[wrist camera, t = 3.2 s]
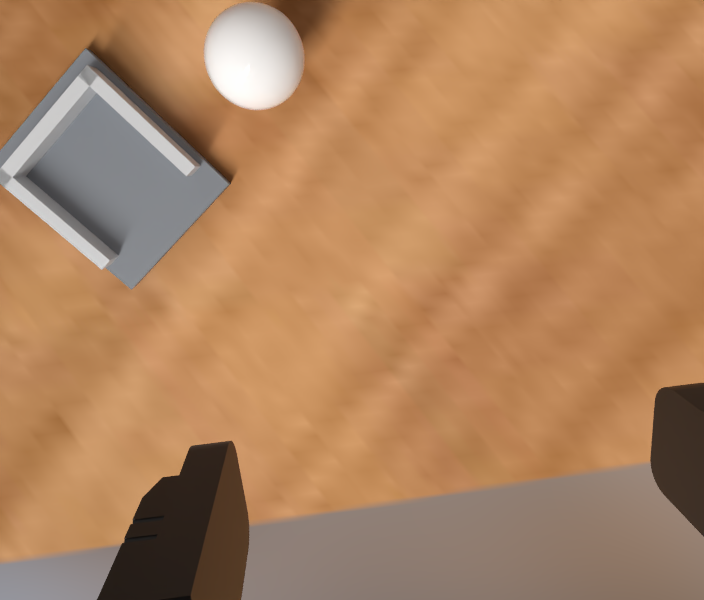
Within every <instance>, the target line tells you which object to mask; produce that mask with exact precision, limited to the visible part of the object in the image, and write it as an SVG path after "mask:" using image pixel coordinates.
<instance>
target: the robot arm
mask: <svg viewBox="0 0 704 600" xmlns="http://www.w3.org/2000/svg"><path fill="white" fill-rule="evenodd" d="M651 468H652V473H653V476H654V479H655V481H656V483H657V485H658V487H659V489H660V490H661V491H662V492H663V494H664V495H665V496H666V497H667V498H668V499H669V500H670V502H671V503H672V504H673V505H674V506H675V507H676V508H677V509H678V510H679V511H680V512H681V513H682V514H683V515H684V516H685V517H686V518H687V520H688V521H689V522H690V523H691V524H692V525H693V526H694V527H695V528H696V529H697V530H698V531H699V532H700V533H701V534H702V535H703V536H704V383H696V384H688V385H680V386H672V387H664V388H661V389H660V390H659V391H658V393H657V395H656V398H655V407H654V420H653V433H652V446H651ZM124 539H125V542H124V543H122V545H121V547H120V550H119V552H118V554H117V556H116V558H115V561H114V563H113V565H112V567H111V570H110V572H109V574H108V577H107V579H106V581H105V583H104V585H103V588H102V590H101V592H100V594H99V597H98V599H97V600H241V597H242V590H243V583H244V576H245V569H246V562H247V555H248V548H249V520H248V512H247V506H246V501H245V495H244V490H243V485H242V480H241V474H240V469H239V464H238V458H237V453H236V449H235V446H234V443H233V442H232V441H226V442H218V443H210V444H202V445H194V446H191V447H190V448H189V451H188V453H187V456H186V459H185V461H184V464H183V467H182V470H181V472H180V475H178V476H170V477H163V478H162V479H161V480H160V481H159V482H158V483H157V484H156V485H155V486H154V487H153V488H152V489H151V490H150V491H149V492H148V493H147V494H146V495H145V496H144V497H143V498H142V500H141V502H140V504H139V507H138V509H137V511H136V513H135V516H134V518H133V524H131V525H130V527H129V529H128V531H127V534H126V536H125V538H124Z"/></svg>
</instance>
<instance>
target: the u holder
mask: <svg viewBox="0 0 704 600" xmlns="http://www.w3.org/2000/svg"><path fill="white" fill-rule="evenodd" d="M0 184H1V185H2V186H3V187H5V188H6V189H7V190H8V191H9V192H10V193H12V194H13V195H14V196H15V197H16V198H18V199H19V200H20V201H21V202H22V203H23V204H25V205H26V206H27V207H28V208H29V209H31V210H32V211H33V212H34V213H35V214H36V215H38V216H39V217H40V218H41V219H42V220H44V221H45V222H46V223H47V224H48V225H50V226H51V227H52V228H53V229H54V230H55V231H57V232H58V233H59V234H60V235H61V236H63V237H64V238H65V239H66V240H67V241H68V242H70V243H71V244H72V245H73V246H74V247H76V248H77V249H78V250H79V251H80V252H81V253H83V254H84V255H85V256H86V257H87V258H89V259H90V260H91V261H92V262H93V263H94V264H96V265H97V266H98V267H99V268H100V269H104V268H107V269H108V270H109V271H110V272H111V273H112V274H114V275H115V276H116V277H117V278H118V279H120V280H121V281H122V282H123V283H124V284H125V285H127V286H128V287H129V288H130V289H131V290H132V289H133V288H134V287H135V286H136V285H137V284H138V283H139V282H140V281H141V280H142V279H143V278H144V277H145V276H146V275H147V273H148V272H149V271H150V270H151V269H152V268H153V267H154V266H155V265H156V264H157V263H158V262H159V261H160V259H161V258H162V257H163V256H164V255H165V254H166V253H167V252H168V251H169V250H170V249H171V248H172V246H173V245H174V244H175V243H176V242H177V241H178V240H179V239H180V238H181V237H182V236H183V235H184V234H185V232H186V231H187V230H188V229H189V228H190V227H191V226H192V225H193V224H194V223H195V222H196V221H197V219H198V218H199V217H200V216H201V215H202V214H203V213H204V212H205V211H206V210H207V209H208V208H209V207H210V205H211V204H212V203H213V202H214V201H215V200H216V199H217V198H218V197H219V196H220V195H221V194H222V192H223V191H224V190H225V189H226V188H227V187H228V186H229V185H230V184H231V183H230V182H229V181H228V180H227V179H226V178H225V177H224V176H223V175H222V174H221V173H220V172H219V171H217V170H216V169H215V168H214V167H213V166H212V165H211V164H210V163H209V162H208V161H207V160H206V159H205V158H204V157H203V156H202V155H201V154H200V153H198V152H197V151H196V150H195V149H194V148H193V147H192V146H191V145H190V144H189V143H188V142H187V141H186V140H185V139H184V138H183V137H182V136H181V135H179V134H178V133H177V132H176V131H175V130H174V129H173V128H172V127H171V126H170V125H169V124H168V123H167V122H166V121H165V120H164V119H163V118H161V117H160V116H159V115H158V114H157V113H156V112H155V111H154V110H153V109H152V108H151V107H150V106H149V105H148V104H147V103H146V102H145V101H144V100H142V99H141V98H140V97H139V96H138V95H137V94H136V93H135V92H134V91H133V90H132V89H131V88H130V87H129V86H128V85H127V84H126V83H125V82H123V81H122V80H121V79H120V78H119V77H118V76H117V75H116V74H115V73H114V72H113V71H112V70H111V69H110V68H109V67H108V66H107V65H106V64H104V63H103V62H102V61H101V60H100V59H99V58H98V57H97V56H96V55H95V54H94V53H93V52H92V51H91V50H88V49H86V48H85V50H84V51H83V52H82V53H81V54H80V56H79V57H78V58H77V59H76V60H75V62H74V63H73V64H72V65H71V66H70V68H69V69H68V70H67V71H66V72H65V74H64V75H63V76H62V77H61V78H60V80H59V81H58V82H57V83H56V84H55V86H54V87H53V88H52V89H51V90H50V92H49V93H48V94H47V95H46V96H45V98H44V99H43V100H42V101H41V102H40V104H39V105H38V106H37V107H36V108H35V110H34V111H33V112H32V113H31V114H30V116H29V117H28V118H27V119H26V120H25V122H24V123H23V124H22V125H21V126H20V128H19V129H18V130H17V131H16V132H15V134H14V135H13V136H12V137H11V138H10V140H9V141H8V142H7V143H6V144H5V146H4V147H3V148H2V149H1V150H0Z"/></svg>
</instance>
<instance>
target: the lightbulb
mask: <svg viewBox="0 0 704 600" xmlns="http://www.w3.org/2000/svg"><path fill="white" fill-rule="evenodd" d="M204 61H205V66H206V70H207V73H208V75H209V78H210V80H211V81H212V83H213V85H214V86H215V88H216V89H217V90H218V91H219V93H220V94H221V95H222V96H223V97H225V98H226V99H227V100H228V101H230V102H231V103H233V104H235V105H237V106H239V107H242V108H245V109H250V110H265V109H270V108H273V107H275V106H278V105H280V104H281V103H283V102H284V101H286V100H287V99H288V98H289V97H290V96H291V95H292V94H293V93H294V91H295V90H296V89H297V87H298V85H299V83H300V81H301V78H302V75H303V71H304V64H305V55H304V48H303V44H302V40H301V38H300V35H299V33H298V31H297V29H296V28H295V26H294V25H293V23H292V22H291V21H290V20H289V19H288V18H287V17H286V16H285V15H284V14H283V13H282V12H280V11H279V10H277V9H276V8H274V7H272V6H270V5H267V4H264V3H259V2H242V3H238V4H235V5H233V6H230V7H229V8H227V9H225V10H224V11H223V12H221V13H220V14H219V15H218V16H217V17H216V18H215V20H214V21H213V22H212V24H211V26H210V28H209V30H208V32H207V35H206V38H205V44H204Z"/></svg>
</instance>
